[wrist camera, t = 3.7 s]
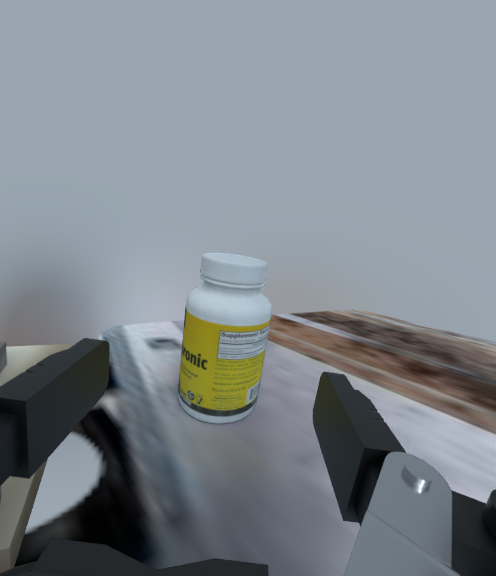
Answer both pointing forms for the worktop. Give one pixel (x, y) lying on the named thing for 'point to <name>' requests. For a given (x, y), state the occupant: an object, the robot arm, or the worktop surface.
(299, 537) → the worktop surface
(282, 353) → the worktop surface
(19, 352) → the seat board
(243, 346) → the supplement bottle
